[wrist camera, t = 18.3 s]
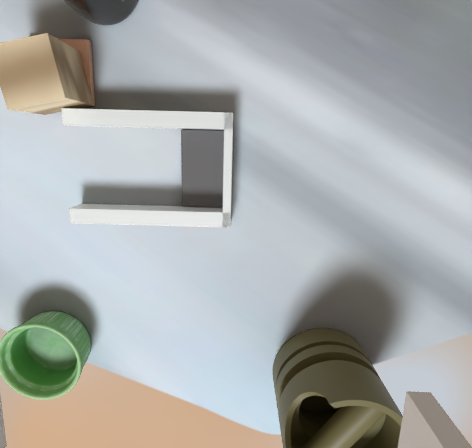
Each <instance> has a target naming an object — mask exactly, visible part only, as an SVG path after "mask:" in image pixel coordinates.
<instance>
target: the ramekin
mask: <svg viewBox="0 0 472 448" xmlns="http://www.w3.org/2000/svg"><path fill="white" fill-rule="evenodd" d="M90 350H91V343H90V337H89V334H88V332H87V330H86V328H85V327H84V326H83V325H82V324H81V322H79V320H77V319H76V318H74V317H73V316H71V315H69V314H66V313H63V312H58V311H49V312H43V313H40V314H38V315H36V316H34V317H32V318H31V319H29V320H28V321H27V322H25V323H24V324H22V325H19V326H17V327H15V328H13V329H12V330H10V331H9V332H8V333H6V334H5V336H4V337H3V338H2V339H1V341H0V374H1V376H2V378H3V379H4V381H5V382H6V383H7V384H8V385H9V386H10V387H11V388H12V389H13V390H15V391H16V392H18V393H20V394H21V395H24V396H26V397H29V398H33V399H53V398H57V397H60V396H62V395H64V394H66V393H67V392H68V391H70V390H71V389H72V388H73V387H74V386H75V384H76V383H77V381H78V379H79V377H80V375H81V372H82V368H83V366H84V364H85V362H86V361H87V359H88V356H89V354H90Z"/></svg>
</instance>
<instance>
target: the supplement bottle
mask: <svg viewBox="0 0 472 448" xmlns="http://www.w3.org/2000/svg"><path fill="white" fill-rule="evenodd" d="M64 1H65V2H66V3H67V4H68V5H69V6H71V7H72V8H73V9H74V10H75V11H76V12H78V13H79V14H80V15H81V16H83V17H84V18H85V19H87V20H89V21H91V22H93V23H95V24H99V25H113V24H117V23H119V22H121V21H123V20H125V19H126V18H127V17H128V16H129V15H130V14H131V13H132V11H133V10H134V8H135V6H136V4H137V1H138V0H64Z"/></svg>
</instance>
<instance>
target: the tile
mask: <svg viewBox="0 0 472 448" xmlns="http://www.w3.org/2000/svg"><path fill="white" fill-rule="evenodd" d="M59 40H61V41H62V42H64V43H66V44H68V45H69V46H71V47H73V48H75V49H76V50H78V51H79V52H80V55H81V59H82V63H83V67H84V71H85V74H86V78H87V82H88V86H89V90H90V93H91V97H92V101H93V105H91V106H95V98H94V81H93V64H92V46H91V41H89V40H87V39H59Z"/></svg>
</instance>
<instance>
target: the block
mask: <svg viewBox="0 0 472 448" xmlns="http://www.w3.org/2000/svg"><path fill="white" fill-rule="evenodd" d="M0 87H1V90H2V93H3V96H4V99H5V103H6V106H7V109H8V110H15V111H22V112H29V113H36V114H43V115H46V114H51V113H56V112H61V111H62V109H61V108H71V109H76V108H81V107H86V106H91V105H93V101H92V97H91V93H90V90H89V86H88V82H87V78H86V74H85V71H84V67H83V63H82V59H81V55H80V52H79V51H78V50H76V49H75V48H73V47H71V46H69V45H68V44H66V43H64V42H62V41H61V40H59V39H57V38H55V37H54V36H52V35H50V34H48V33H44V34H40V35H35V36H30V37H26V38H21V39H16V40H12V41H7V42H2V43H0Z"/></svg>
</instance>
